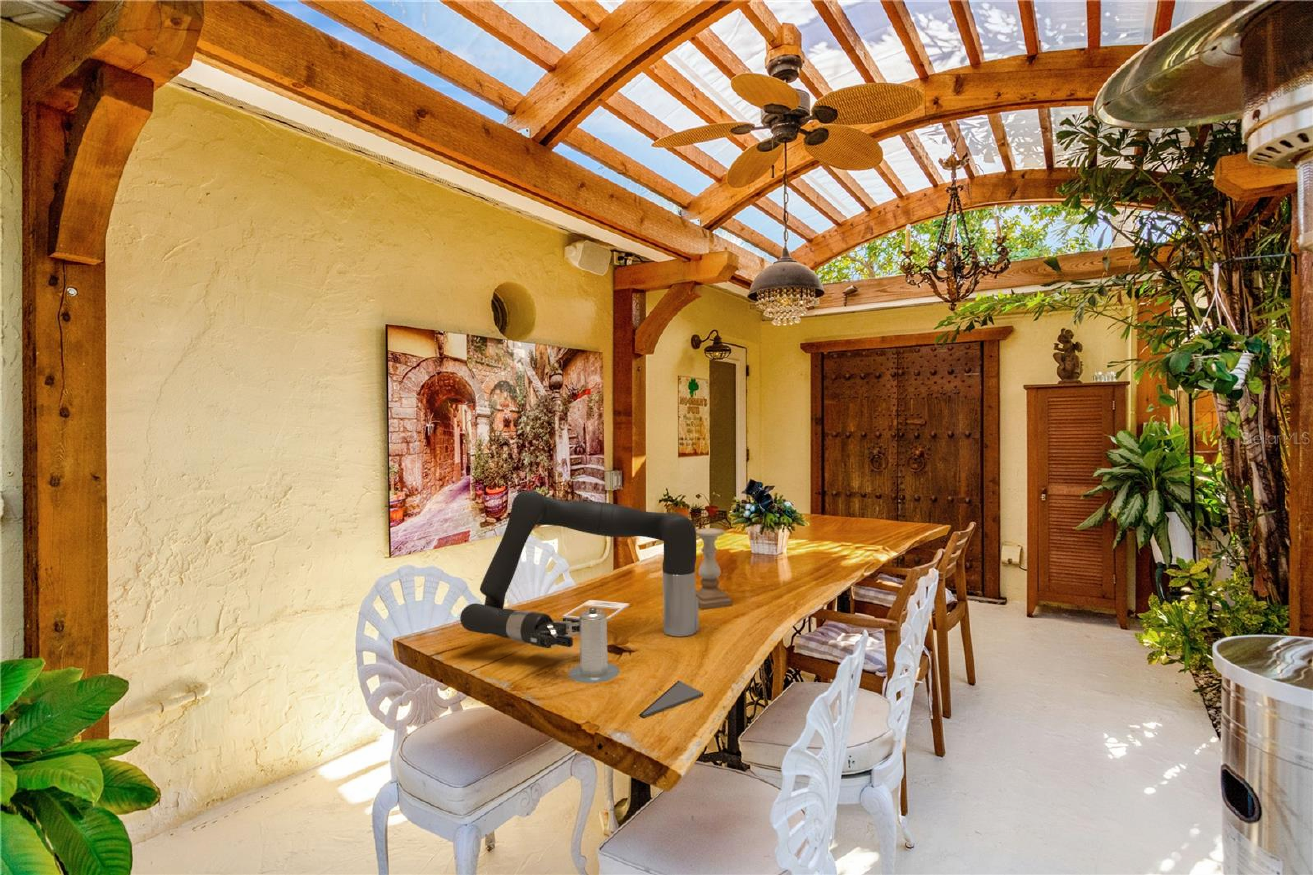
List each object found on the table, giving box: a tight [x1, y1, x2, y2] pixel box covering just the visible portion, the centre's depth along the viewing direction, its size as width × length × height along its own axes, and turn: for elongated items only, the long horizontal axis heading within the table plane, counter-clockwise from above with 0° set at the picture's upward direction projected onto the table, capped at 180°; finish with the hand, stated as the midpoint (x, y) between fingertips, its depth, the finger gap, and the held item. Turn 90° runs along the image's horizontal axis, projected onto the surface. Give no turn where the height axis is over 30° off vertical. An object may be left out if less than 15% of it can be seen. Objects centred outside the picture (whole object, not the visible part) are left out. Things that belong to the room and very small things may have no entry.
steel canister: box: [578, 607, 609, 678], centre depth 143 cm, size 6×6×15 cm
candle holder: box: [695, 527, 733, 610], centre depth 200 cm, size 11×11×24 cm
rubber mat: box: [638, 680, 704, 719], centre depth 134 cm, size 16×16×1 cm
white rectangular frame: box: [562, 599, 631, 622], centre depth 194 cm, size 15×1×18 cm
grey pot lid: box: [567, 662, 621, 684], centre depth 143 cm, size 12×12×3 cm
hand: (582, 636), depth 145 cm, fingers open, 8 cm apart
